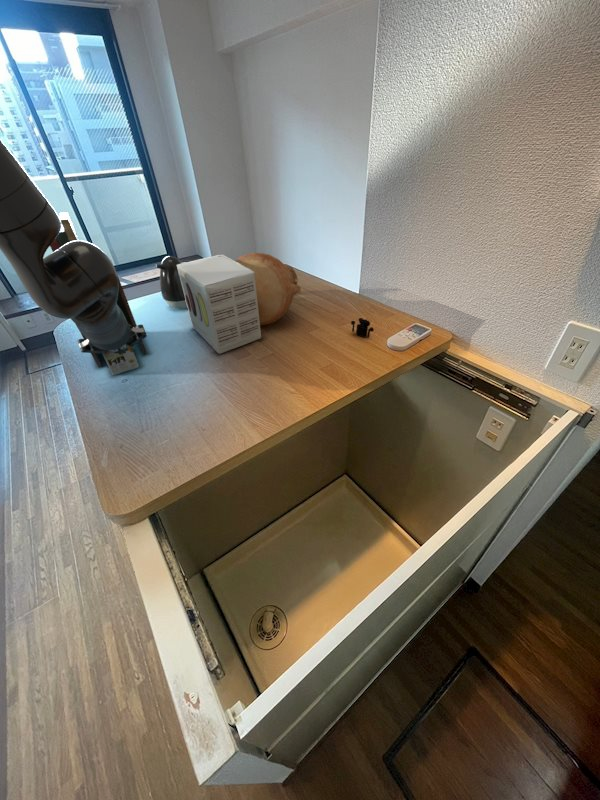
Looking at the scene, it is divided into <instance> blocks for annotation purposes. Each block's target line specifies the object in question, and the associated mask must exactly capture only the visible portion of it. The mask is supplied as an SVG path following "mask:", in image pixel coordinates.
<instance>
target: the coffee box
mask: <svg viewBox="0 0 600 800" xmlns="http://www.w3.org/2000/svg"><path fill="white" fill-rule="evenodd" d="M127 348H128V351H126V353H125V354H121V355H119V354H118V353H117V354H116V353H114V352H112V351H109V350H108V351H109V352H108V353H101V354H102V356H103V358H104V360H105V362H106V364H107V366H108V368H109V370H110V372H111V375H112V376H116V375H120V374H122V373H125V372H128V371H132V370H135V369H138V368H139V367H140V365H139V362H138V359H137V357H136V354H135V352H134V350H133V346H132V347H130V346H129V345H128V346H127Z"/></svg>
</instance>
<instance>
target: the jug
mask: <svg viewBox="0 0 600 800" xmlns="http://www.w3.org/2000/svg"><path fill="white" fill-rule="evenodd" d="M234 261H235V262H238V263H239V264H241V265H243V266H245V267H246V268H248V269H250V270H252V271H253V272H254V275H255V284H256V293H257V302H258V311H259V321H260V326H266V325H269V324H273V323H275V322H276V321H278V320H279V319H280V318H282V317H283V316H284V315H285V314H286V313H287V311H288V310H289V308H290V306H291V304H292V301H293V298H294V297H293V296H294V294H297V293H300V292H302V291H301V289H302V288H301V286H300V285H298V283H299V278H298V275H297V273H296V270H295V269H294V268H293V267H292V266H291V265H289V264H287V263H283V262H282V261H281V260H280V259H279V258H277V257H275V256H272V255H271V254H268V253H264V252H250V253H247V254H242V255H241V256H239V257H237V259H235V260H234Z"/></svg>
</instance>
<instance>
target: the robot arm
mask: <svg viewBox="0 0 600 800" xmlns="http://www.w3.org/2000/svg"><path fill="white" fill-rule="evenodd" d="M61 224H62V223H61V221H60V215H58V213H57V212H56V210H55V208H54V207H53V206H52V204H51V203H50V202H49V201H48V199H47V198H46V197H45V195H44V194H43V192H42V191H41V189H39V187H38V185H36V183H35V182H34V181H33V179H32V177H31V176H30V175H29V174H28V173H27V171H26V170H25V168H24V167H23V166H22V165H21V163H20V162H19V161H18V159H17V158H16V157H15V156H14V154H13V153H12V152H11V151H10V149H9V148H8V147H7V146H6V144H4V142H3V141H2V139H0V251H1V253H2V254H3V255H4V256H5V258H6V259H7V261H8V262H9V264H10V266H11V267H12V268H13V271H14V272H15V273H16V275H17V277H18V279H19V281H20V282H21V284H22V286H23V288H24V289H25V291H26V293H27V294H28V295H29V297H30V298H31V300H32V301H33V302H34V303H35V305H36V306H37V307H39V309H41V310H42V311H43V312H45V313H46V314H47V315H50V316H52V317H55V318H57V319H63V320H64V319H65V320H66V319H67V320H69V319H70V320H71V321H72V322H73V323H74V324H75V327H76V328H77V329H78V331H79V333H80V335H81V334H82V335H83V336H85V337H86V339H84V338H79V339H77V343H78V347H79V349H80V352H81V353H83V354H87V353H88V354H91V353H99V354H102V353H108V352H109V351H112V352H114V353H116V354H117V353H118V354H119V355H121V354H125V353H126V351H128V348H127V346H128V345H129V346H130V347H132V348H133V347H134V346H135V345H137V344H138V343H139V342H140V341H141V340H142V341H143V340H144V339H145V338H146V337H147V336H148V335H147V332H146V329H145V326H144V324H138V325H137V326H136V327H132V326H131V325H128V322H127V320H126V318H125V316H124V314H123V312H122V310H121V309H120V308H119V306H118V305H117V298H118V292H119V280H120V279H119V280H118V278H119V275H118V273H117V270H116V267H115V265H114V263H113V261H112V259H110V257H109V256H108V255H107V253H106V252H105V251H104V250H102V249H101V248H100V247H98V245H95V244H93V243H91V242H89V241H86V240H82V239H81V240H80V239H79V240H75V241H71V242H69V243H67V244H65V245H63V246H62V247H60V248H59V249H58V250H56V251H54V252H53V251H52V252H51V253H50V254H48V255H47V256H45V254H46V252H47V251H48V249H49V248H50V245H51V244H52V242H53V241H54V240H55V239H56V237H57V236H58V234H59V232H60V230H61ZM44 256H45V257H44ZM111 261H112V262H111ZM82 335H81V336H82ZM108 350H109V351H108Z"/></svg>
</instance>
